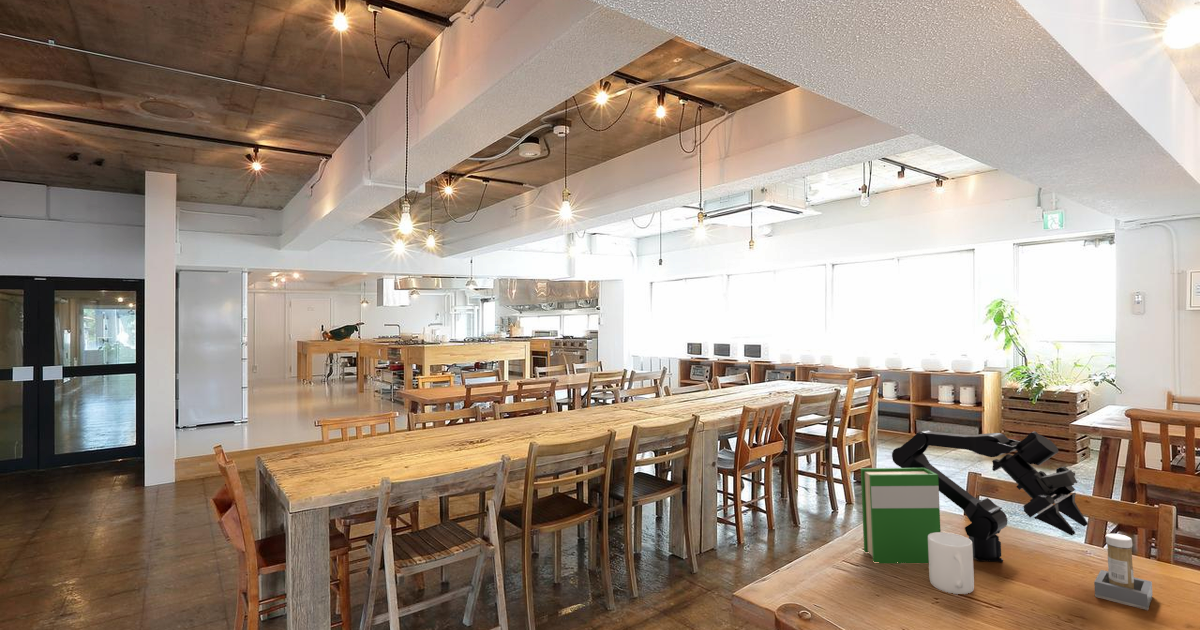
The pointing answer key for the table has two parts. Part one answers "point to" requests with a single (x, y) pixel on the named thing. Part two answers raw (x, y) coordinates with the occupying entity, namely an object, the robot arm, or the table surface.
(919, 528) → the hardback book
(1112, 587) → the holder
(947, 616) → the table surface
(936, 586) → the mug
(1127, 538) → the sprinkles bottle
